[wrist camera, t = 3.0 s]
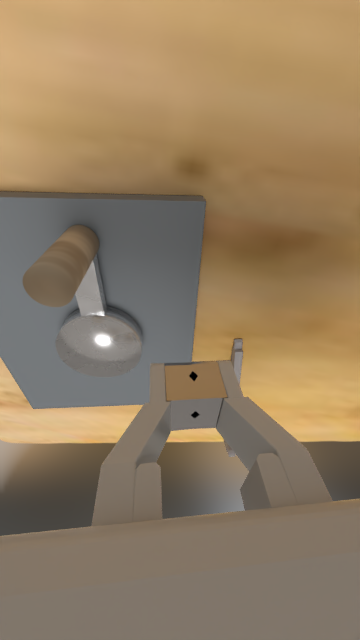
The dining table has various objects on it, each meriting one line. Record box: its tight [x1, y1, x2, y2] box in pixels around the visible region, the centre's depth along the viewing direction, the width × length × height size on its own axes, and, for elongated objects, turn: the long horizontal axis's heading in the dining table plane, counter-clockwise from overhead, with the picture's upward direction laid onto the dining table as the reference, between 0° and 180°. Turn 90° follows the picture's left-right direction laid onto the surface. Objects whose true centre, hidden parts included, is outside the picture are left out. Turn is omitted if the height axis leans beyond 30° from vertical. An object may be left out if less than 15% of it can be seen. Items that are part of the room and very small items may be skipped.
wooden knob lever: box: [23, 225, 142, 377], centre depth 20 cm, size 15×8×7 cm, turn 178°
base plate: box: [0, 191, 206, 409], centre depth 25 cm, size 21×26×2 cm
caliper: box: [224, 339, 243, 457], centre depth 33 cm, size 20×1×6 cm, turn 2°
